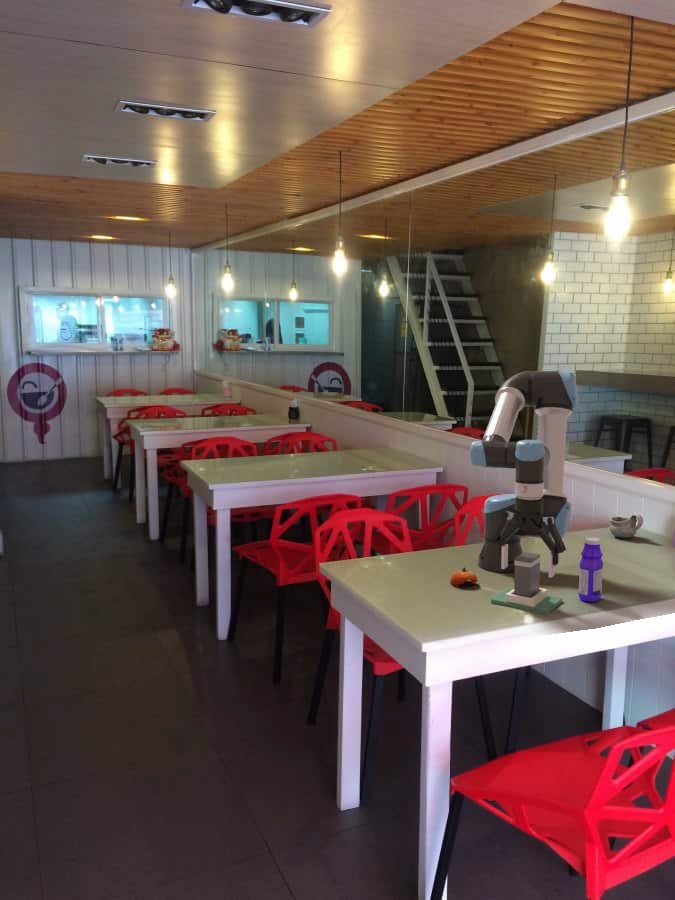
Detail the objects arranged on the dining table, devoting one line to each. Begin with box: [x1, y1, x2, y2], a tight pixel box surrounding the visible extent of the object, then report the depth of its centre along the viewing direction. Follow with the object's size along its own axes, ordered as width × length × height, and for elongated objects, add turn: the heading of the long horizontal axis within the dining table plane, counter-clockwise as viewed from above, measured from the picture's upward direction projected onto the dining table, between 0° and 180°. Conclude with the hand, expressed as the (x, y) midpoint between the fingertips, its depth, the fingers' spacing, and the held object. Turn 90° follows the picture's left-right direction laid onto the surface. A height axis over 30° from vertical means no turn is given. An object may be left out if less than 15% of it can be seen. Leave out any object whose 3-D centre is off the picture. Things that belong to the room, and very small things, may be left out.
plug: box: [513, 551, 541, 598], centre depth 202 cm, size 5×8×12 cm, turn 144°
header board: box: [490, 587, 563, 615], centre depth 202 cm, size 16×12×3 cm
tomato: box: [449, 567, 478, 588], centre depth 218 cm, size 8×7×7 cm
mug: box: [609, 513, 644, 539], centre depth 270 cm, size 10×12×10 cm
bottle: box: [578, 536, 604, 603], centre depth 203 cm, size 7×6×17 cm
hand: (527, 571), depth 202 cm, fingers open, 13 cm apart
